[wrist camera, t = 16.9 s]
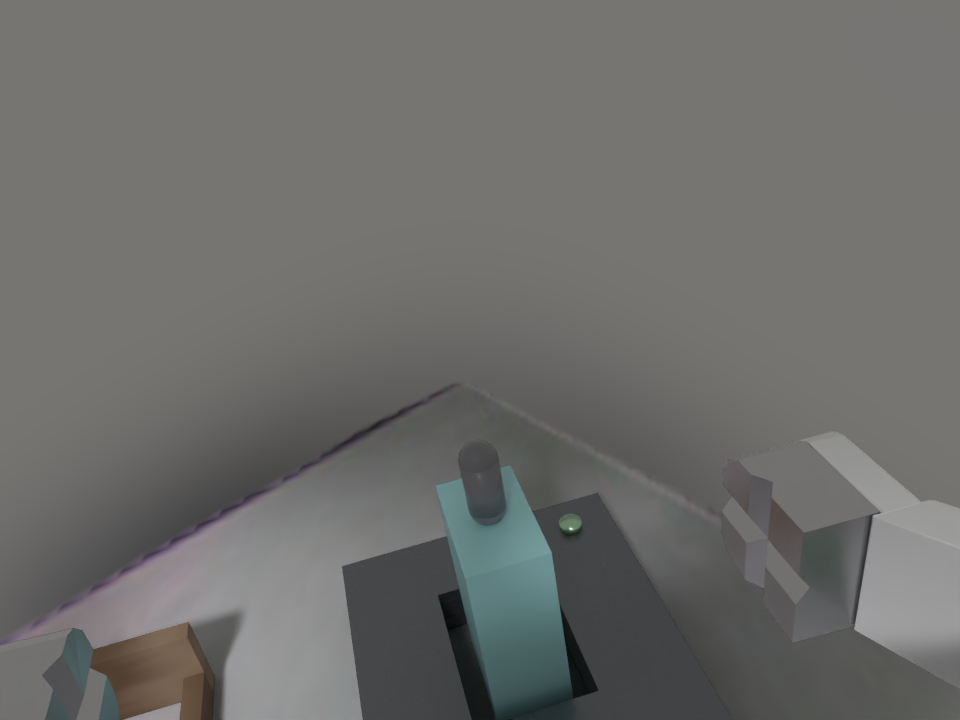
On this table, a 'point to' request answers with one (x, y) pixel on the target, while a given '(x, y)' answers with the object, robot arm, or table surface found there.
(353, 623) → the port block
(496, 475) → the plug
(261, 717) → the table surface
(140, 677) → the open wooden frame
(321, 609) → the table surface
